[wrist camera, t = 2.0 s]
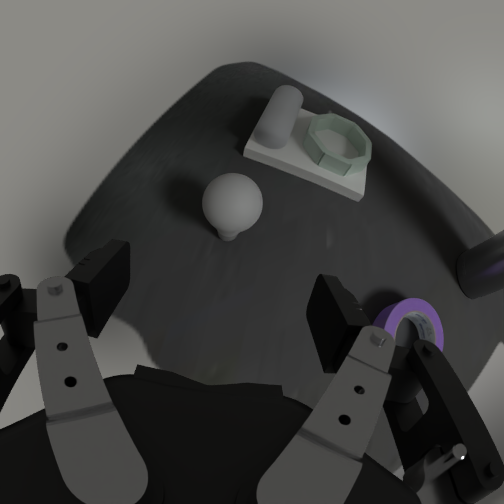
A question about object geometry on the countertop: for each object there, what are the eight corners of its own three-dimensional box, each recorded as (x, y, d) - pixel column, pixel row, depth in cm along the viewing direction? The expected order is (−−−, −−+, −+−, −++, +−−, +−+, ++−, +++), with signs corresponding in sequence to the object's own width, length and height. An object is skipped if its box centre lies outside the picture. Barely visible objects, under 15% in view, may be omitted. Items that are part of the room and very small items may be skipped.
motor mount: (364, 144, 46) (381, 120, 39) (357, 202, 40) (380, 177, 34) (269, 105, 45) (277, 76, 39) (243, 156, 40) (249, 123, 33)
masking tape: (357, 319, 34) (372, 315, 30) (414, 292, 37) (430, 286, 33) (379, 396, 31) (396, 399, 27) (434, 360, 33) (450, 359, 30)
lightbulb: (204, 258, 34) (203, 217, 23) (201, 214, 36) (200, 161, 25) (253, 255, 35) (272, 214, 24) (248, 212, 37) (262, 160, 27)
